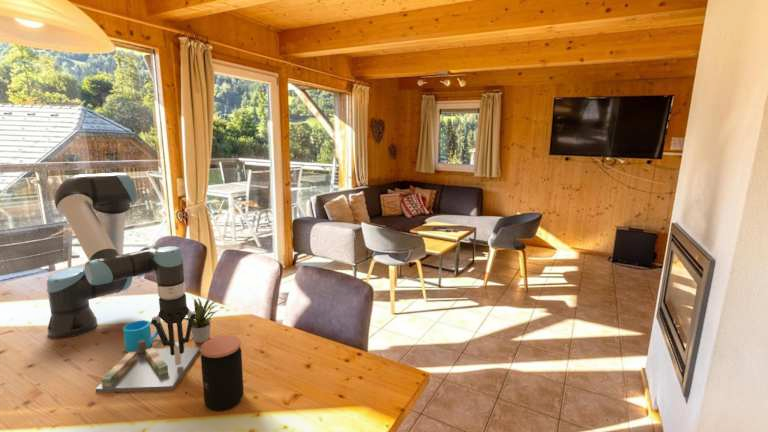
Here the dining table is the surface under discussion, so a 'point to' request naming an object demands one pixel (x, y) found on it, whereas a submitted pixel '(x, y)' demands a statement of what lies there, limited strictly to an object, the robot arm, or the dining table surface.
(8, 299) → the dining table surface
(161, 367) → the bar
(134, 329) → the mug
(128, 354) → the tongs base
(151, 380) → the board
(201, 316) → the house plant
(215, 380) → the coffee jar
